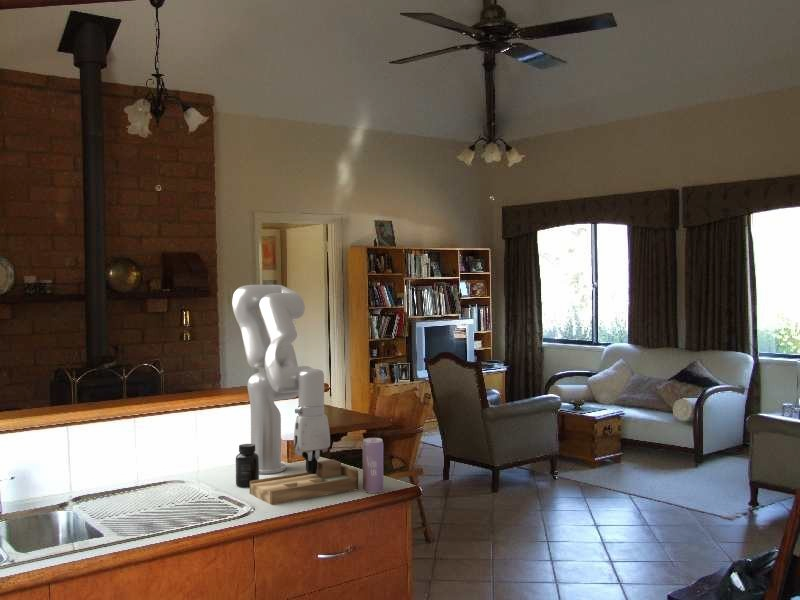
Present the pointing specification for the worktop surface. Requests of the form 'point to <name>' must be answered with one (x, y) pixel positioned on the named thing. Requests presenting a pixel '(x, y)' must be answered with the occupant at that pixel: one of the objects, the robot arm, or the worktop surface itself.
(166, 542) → the worktop surface
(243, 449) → the supplement bottle
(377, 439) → the beverage can
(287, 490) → the trap trough
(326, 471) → the walnut block
